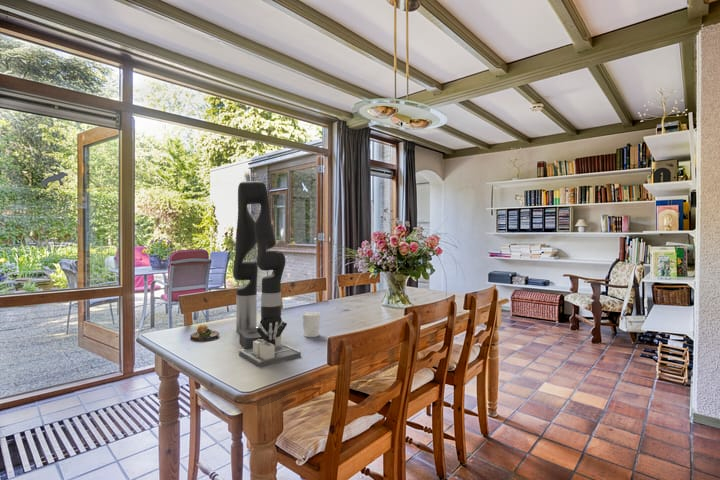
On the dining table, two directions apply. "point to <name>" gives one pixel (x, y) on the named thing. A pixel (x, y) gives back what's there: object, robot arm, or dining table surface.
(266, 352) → the cream striped block
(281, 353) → the switch board
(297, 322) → the dining table surface
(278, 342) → the tab
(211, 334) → the wood slice table decoration
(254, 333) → the streaming box
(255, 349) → the tab
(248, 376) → the dining table surface
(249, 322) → the robot arm
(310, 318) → the white cup
